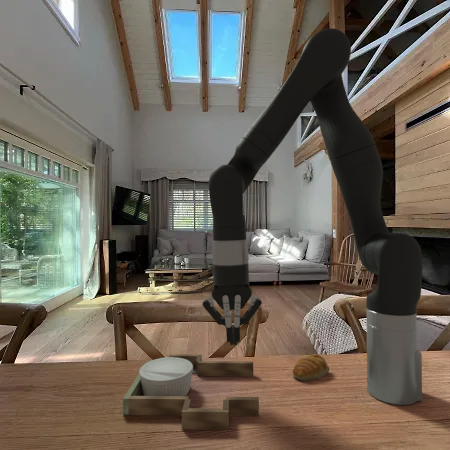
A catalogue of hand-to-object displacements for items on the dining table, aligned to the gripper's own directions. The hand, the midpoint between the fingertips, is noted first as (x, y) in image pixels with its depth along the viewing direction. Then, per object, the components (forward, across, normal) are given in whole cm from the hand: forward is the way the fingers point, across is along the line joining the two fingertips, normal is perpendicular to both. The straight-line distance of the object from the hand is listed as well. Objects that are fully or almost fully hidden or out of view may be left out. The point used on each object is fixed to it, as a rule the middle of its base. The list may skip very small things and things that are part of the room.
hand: (233, 343), depth 68 cm
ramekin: (+10, +14, +1) cm, 17 cm away
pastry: (+11, -18, -9) cm, 23 cm away
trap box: (+10, +8, +1) cm, 12 cm away
